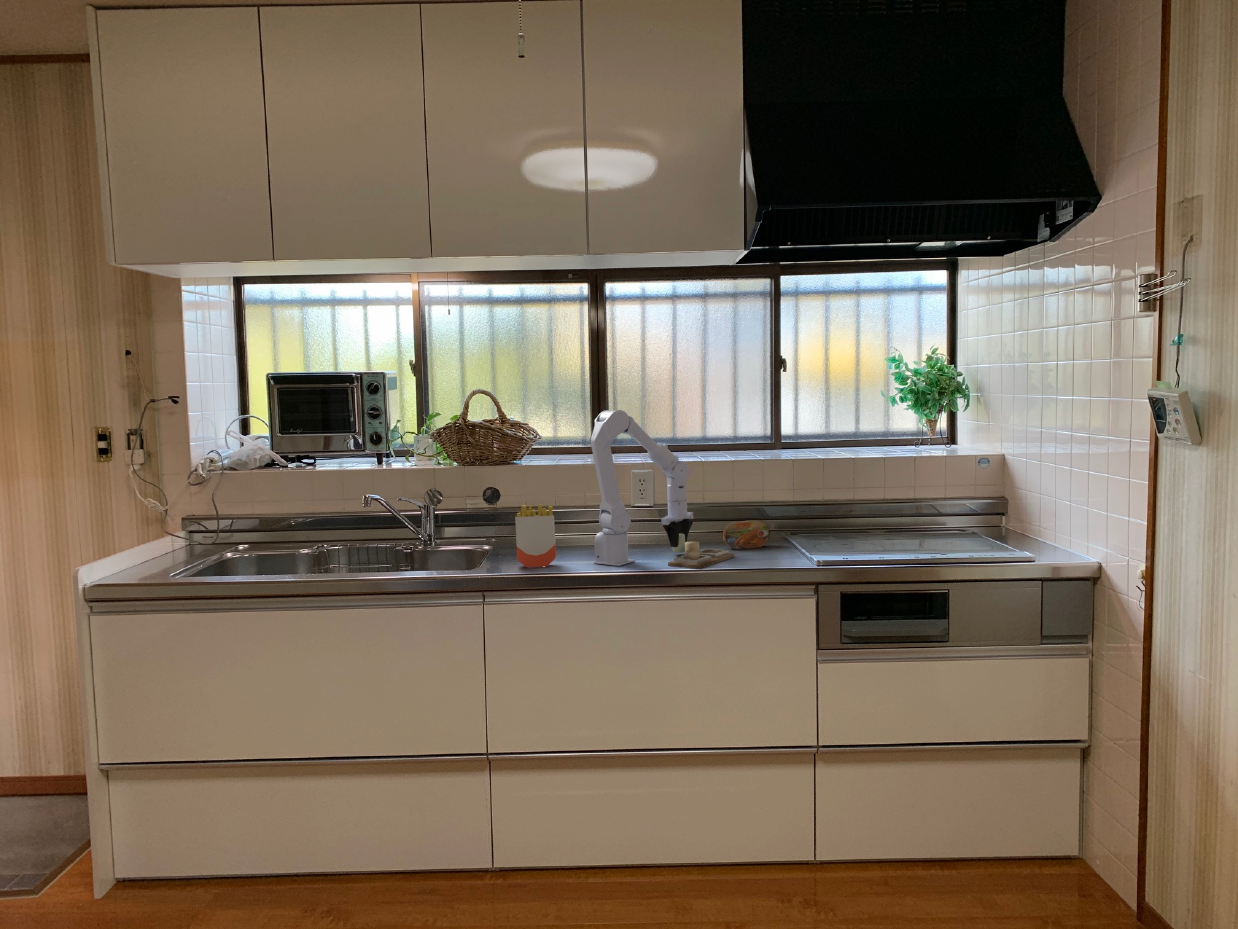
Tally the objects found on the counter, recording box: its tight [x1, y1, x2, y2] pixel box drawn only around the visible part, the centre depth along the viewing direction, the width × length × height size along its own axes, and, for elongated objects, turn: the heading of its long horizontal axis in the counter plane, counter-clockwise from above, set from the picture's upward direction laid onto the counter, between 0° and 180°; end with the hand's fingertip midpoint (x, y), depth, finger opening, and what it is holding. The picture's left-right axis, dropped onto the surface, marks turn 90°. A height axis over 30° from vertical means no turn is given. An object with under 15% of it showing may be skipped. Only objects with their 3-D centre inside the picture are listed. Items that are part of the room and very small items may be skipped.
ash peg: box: [684, 541, 700, 560], centre depth 234 cm, size 4×4×5 cm
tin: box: [722, 519, 771, 550], centre depth 258 cm, size 15×3×8 cm, turn 105°
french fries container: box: [514, 504, 557, 568], centre depth 240 cm, size 5×11×18 cm, turn 90°
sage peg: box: [671, 534, 685, 553], centre depth 249 cm, size 4×4×5 cm
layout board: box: [667, 548, 735, 570], centre depth 239 cm, size 10×20×2 cm, turn 143°
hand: (678, 545), depth 249 cm, fingers closed on sage peg, 4 cm apart
